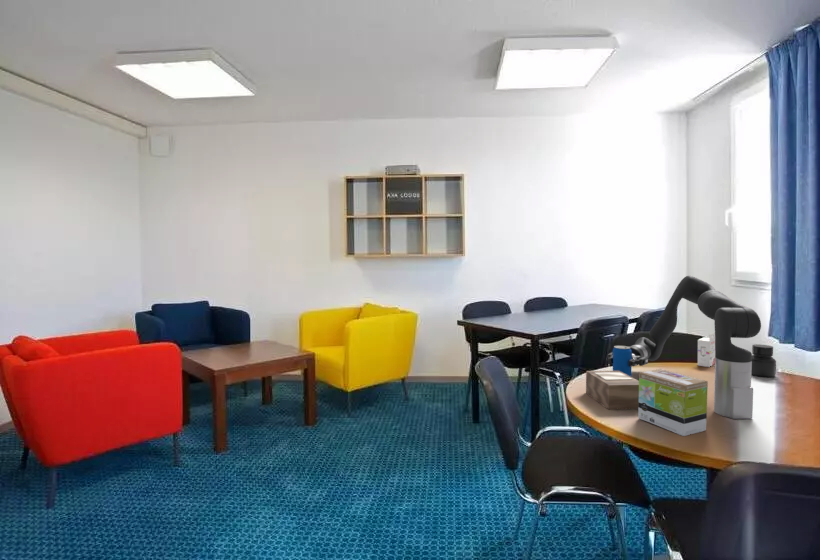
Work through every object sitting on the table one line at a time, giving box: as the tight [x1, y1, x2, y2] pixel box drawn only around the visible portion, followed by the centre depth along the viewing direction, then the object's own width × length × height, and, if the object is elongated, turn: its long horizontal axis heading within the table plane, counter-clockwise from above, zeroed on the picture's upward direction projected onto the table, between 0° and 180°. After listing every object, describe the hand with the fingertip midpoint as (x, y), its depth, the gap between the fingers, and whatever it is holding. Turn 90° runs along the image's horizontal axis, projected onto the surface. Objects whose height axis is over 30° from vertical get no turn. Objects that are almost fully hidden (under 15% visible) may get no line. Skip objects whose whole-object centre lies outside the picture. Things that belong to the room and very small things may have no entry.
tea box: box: [637, 368, 709, 437], centre depth 134 cm, size 15×10×15 cm
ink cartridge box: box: [697, 331, 716, 368], centre depth 205 cm, size 9×5×15 cm, turn 132°
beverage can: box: [612, 345, 632, 377], centre depth 173 cm, size 6×6×12 cm
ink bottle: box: [751, 343, 777, 378], centre depth 187 cm, size 10×9×12 cm
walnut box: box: [585, 370, 639, 410], centre depth 157 cm, size 18×12×8 cm, turn 1°
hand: (619, 362), depth 172 cm, fingers closed on beverage can, 6 cm apart
